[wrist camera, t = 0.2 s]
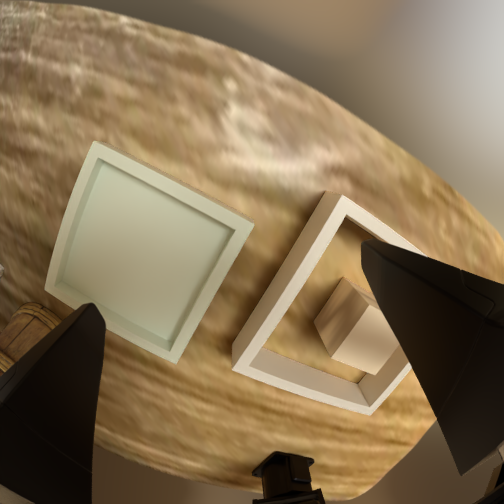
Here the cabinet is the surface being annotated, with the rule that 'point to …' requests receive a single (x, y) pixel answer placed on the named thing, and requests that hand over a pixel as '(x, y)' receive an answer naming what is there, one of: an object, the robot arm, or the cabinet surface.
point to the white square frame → (282, 295)
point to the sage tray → (143, 250)
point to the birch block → (355, 328)
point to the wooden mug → (24, 332)
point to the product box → (1, 270)
